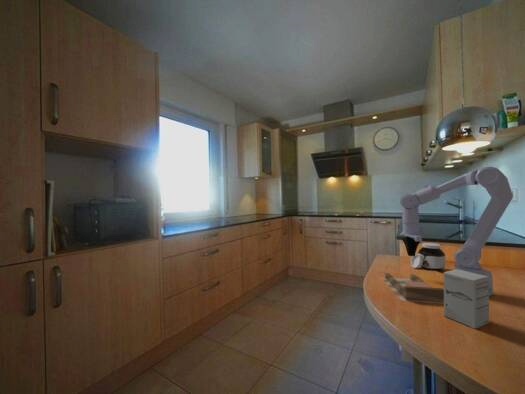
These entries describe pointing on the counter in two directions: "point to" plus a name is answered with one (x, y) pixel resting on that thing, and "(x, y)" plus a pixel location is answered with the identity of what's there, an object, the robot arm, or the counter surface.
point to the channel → (414, 290)
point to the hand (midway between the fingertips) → (411, 255)
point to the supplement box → (466, 297)
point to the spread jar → (429, 257)
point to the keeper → (416, 284)
